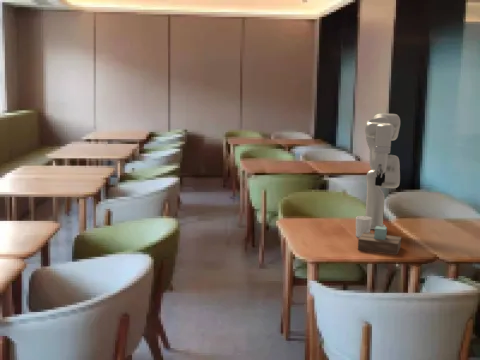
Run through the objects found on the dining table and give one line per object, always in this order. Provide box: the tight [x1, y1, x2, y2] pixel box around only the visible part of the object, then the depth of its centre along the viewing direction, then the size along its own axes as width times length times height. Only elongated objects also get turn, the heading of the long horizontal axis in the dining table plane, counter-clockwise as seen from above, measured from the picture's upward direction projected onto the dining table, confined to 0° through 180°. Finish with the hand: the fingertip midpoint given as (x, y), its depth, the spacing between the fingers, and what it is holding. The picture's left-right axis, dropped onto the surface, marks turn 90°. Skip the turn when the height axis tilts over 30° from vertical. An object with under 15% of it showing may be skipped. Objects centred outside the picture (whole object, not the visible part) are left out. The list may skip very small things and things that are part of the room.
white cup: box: [355, 215, 372, 239], centre depth 293 cm, size 8×8×10 cm
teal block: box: [374, 226, 388, 240], centre depth 273 cm, size 5×5×5 cm
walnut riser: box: [357, 232, 402, 256], centre depth 274 cm, size 14×18×5 cm
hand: (379, 184), depth 285 cm, fingers open, 9 cm apart
